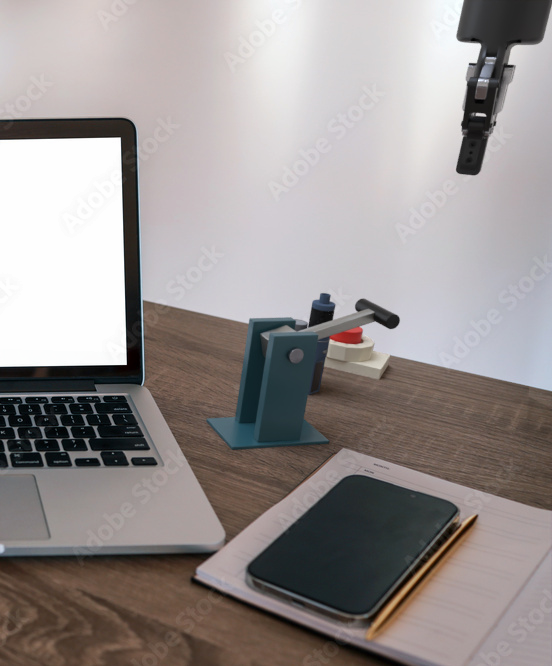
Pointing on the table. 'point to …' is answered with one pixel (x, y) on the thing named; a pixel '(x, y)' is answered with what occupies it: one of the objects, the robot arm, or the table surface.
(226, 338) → the table surface
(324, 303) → the vaping device
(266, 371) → the bracket
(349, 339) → the button
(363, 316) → the lever
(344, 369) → the button box
